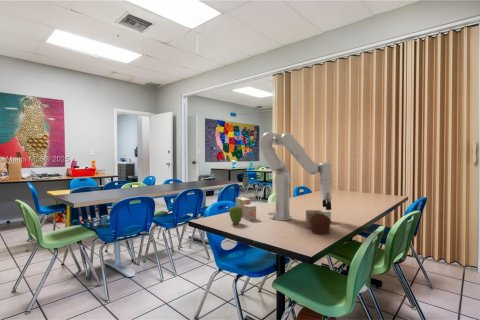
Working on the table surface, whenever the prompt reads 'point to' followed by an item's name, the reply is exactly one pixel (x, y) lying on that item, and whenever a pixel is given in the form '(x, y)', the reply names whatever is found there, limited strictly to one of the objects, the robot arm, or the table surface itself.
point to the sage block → (327, 213)
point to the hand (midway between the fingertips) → (326, 208)
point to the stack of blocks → (246, 208)
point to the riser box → (309, 214)
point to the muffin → (320, 224)
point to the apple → (236, 214)
